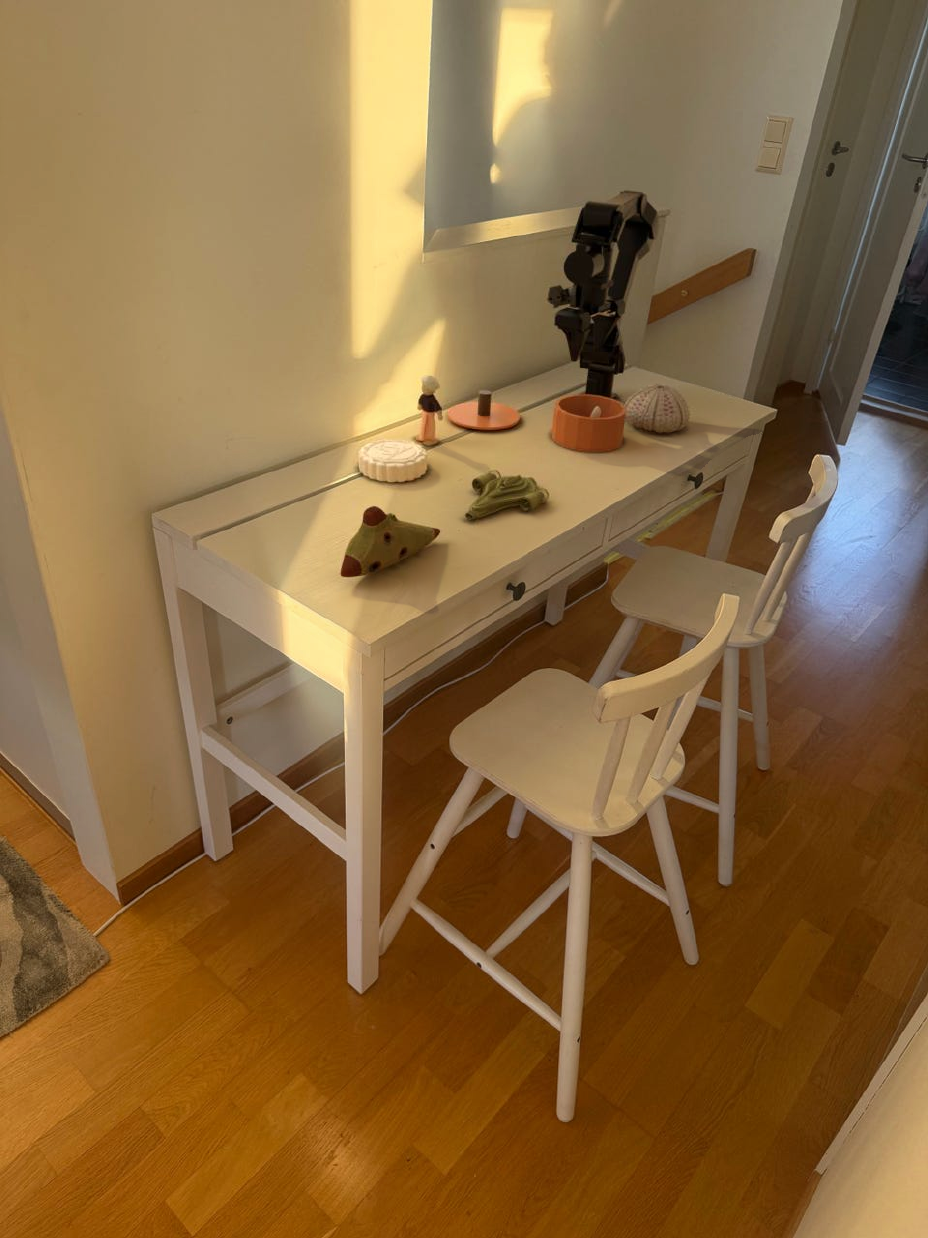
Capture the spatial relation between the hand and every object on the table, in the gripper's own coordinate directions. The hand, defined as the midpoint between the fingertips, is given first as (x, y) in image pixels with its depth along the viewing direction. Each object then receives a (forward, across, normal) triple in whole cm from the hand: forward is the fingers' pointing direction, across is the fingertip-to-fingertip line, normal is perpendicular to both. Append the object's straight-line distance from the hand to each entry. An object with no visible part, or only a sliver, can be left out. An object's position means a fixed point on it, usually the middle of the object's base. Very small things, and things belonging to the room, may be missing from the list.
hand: (585, 355), depth 178 cm
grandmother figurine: (+12, +33, -14) cm, 38 cm away
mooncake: (+12, +47, -11) cm, 50 cm away
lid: (+11, +16, -13) cm, 24 cm away
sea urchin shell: (+12, -5, +15) cm, 20 cm away
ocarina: (+12, +73, +10) cm, 74 cm away
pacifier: (+12, +11, +8) cm, 18 cm away
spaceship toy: (+12, +46, +11) cm, 49 cm away
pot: (+12, +11, +8) cm, 18 cm away
